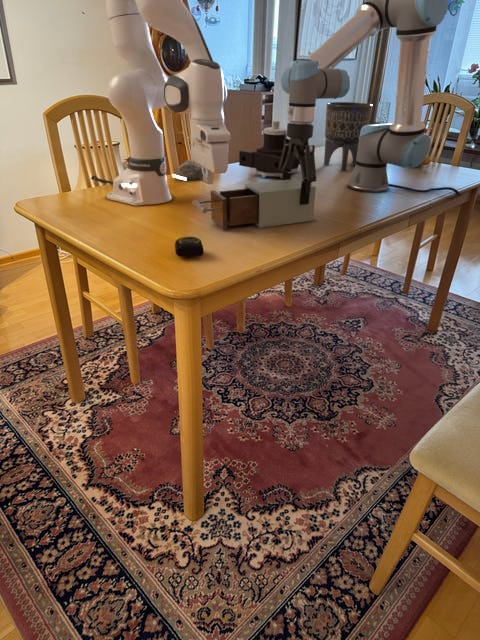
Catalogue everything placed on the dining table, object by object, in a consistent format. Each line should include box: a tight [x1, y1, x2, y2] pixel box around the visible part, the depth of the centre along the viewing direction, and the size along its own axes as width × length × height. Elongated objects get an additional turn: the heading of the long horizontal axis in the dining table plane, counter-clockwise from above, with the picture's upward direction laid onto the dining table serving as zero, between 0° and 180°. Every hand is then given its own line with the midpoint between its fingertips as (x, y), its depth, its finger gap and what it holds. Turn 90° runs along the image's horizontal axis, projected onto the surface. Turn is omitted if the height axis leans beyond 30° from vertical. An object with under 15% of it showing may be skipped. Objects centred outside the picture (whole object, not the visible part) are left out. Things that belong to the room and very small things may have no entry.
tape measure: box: [174, 236, 205, 258], centre depth 113 cm, size 7×7×4 cm
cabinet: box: [244, 178, 317, 229], centre depth 139 cm, size 18×11×10 cm, turn 113°
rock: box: [175, 159, 204, 182], centre depth 183 cm, size 13×9×6 cm, turn 131°
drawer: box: [192, 188, 259, 230], centre depth 133 cm, size 23×10×8 cm, turn 113°
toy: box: [417, 157, 432, 168], centre depth 216 cm, size 11×6×15 cm
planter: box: [323, 101, 374, 172], centre depth 204 cm, size 20×20×26 cm
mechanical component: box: [238, 120, 310, 179], centre depth 191 cm, size 22×21×30 cm
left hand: (208, 183), depth 127 cm, fingers closed
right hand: (294, 199), depth 140 cm, fingers open, 11 cm apart
